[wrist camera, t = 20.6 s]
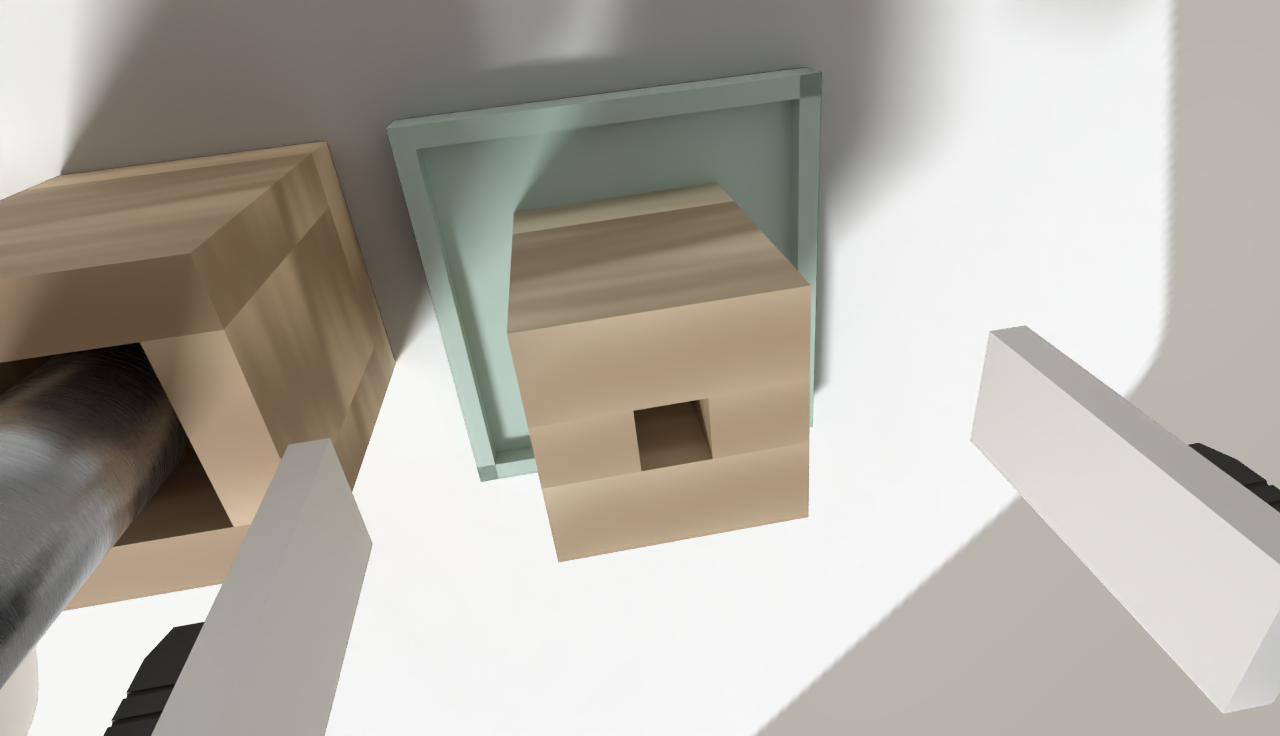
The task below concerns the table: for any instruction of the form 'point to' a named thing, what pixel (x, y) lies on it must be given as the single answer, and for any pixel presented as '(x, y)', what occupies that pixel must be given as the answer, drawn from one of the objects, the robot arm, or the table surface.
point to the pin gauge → (74, 479)
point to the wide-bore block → (203, 331)
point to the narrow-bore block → (659, 369)
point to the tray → (586, 171)
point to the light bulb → (19, 698)
